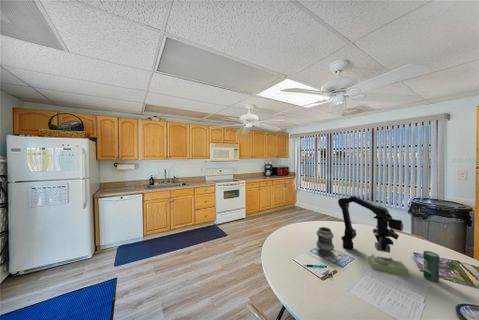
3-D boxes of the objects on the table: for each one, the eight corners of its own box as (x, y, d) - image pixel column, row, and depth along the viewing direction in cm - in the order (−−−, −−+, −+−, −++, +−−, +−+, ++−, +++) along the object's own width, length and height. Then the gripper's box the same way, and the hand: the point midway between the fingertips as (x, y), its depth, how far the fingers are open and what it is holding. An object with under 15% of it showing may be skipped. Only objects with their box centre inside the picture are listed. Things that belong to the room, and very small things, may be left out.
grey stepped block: (377, 250, 117) (377, 244, 117) (374, 247, 122) (374, 240, 122) (390, 252, 115) (390, 246, 115) (387, 249, 119) (387, 242, 119)
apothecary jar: (315, 254, 127) (315, 230, 127) (316, 246, 138) (316, 224, 138) (334, 258, 121) (334, 233, 121) (333, 250, 132) (333, 227, 132)
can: (422, 273, 105) (422, 249, 105) (437, 278, 101) (437, 253, 101) (424, 279, 100) (424, 254, 100) (440, 284, 96) (440, 257, 96)
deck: (372, 268, 111) (372, 261, 110) (365, 256, 124) (365, 250, 124) (408, 275, 103) (408, 268, 103) (397, 262, 117) (397, 256, 117)
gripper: (403, 233, 106) (403, 258, 107) (391, 223, 123) (391, 244, 124) (381, 230, 111) (381, 254, 111) (372, 220, 128) (372, 241, 128)
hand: (382, 248), depth 118 cm, fingers closed on grey stepped block, 5 cm apart
